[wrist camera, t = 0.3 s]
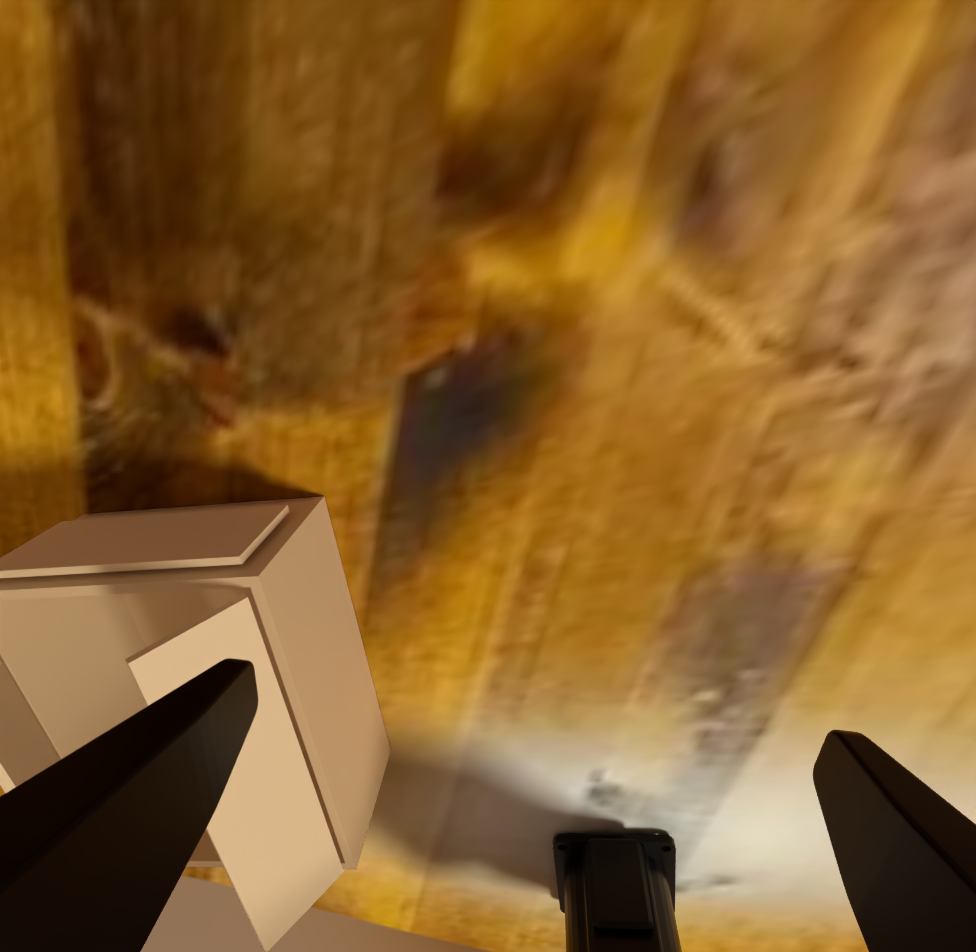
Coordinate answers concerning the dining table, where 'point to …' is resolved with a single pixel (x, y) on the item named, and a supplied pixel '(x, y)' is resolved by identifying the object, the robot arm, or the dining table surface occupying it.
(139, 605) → the carton
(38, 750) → the flap camera side
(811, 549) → the dining table surface
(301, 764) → the tan cardboard box flap
